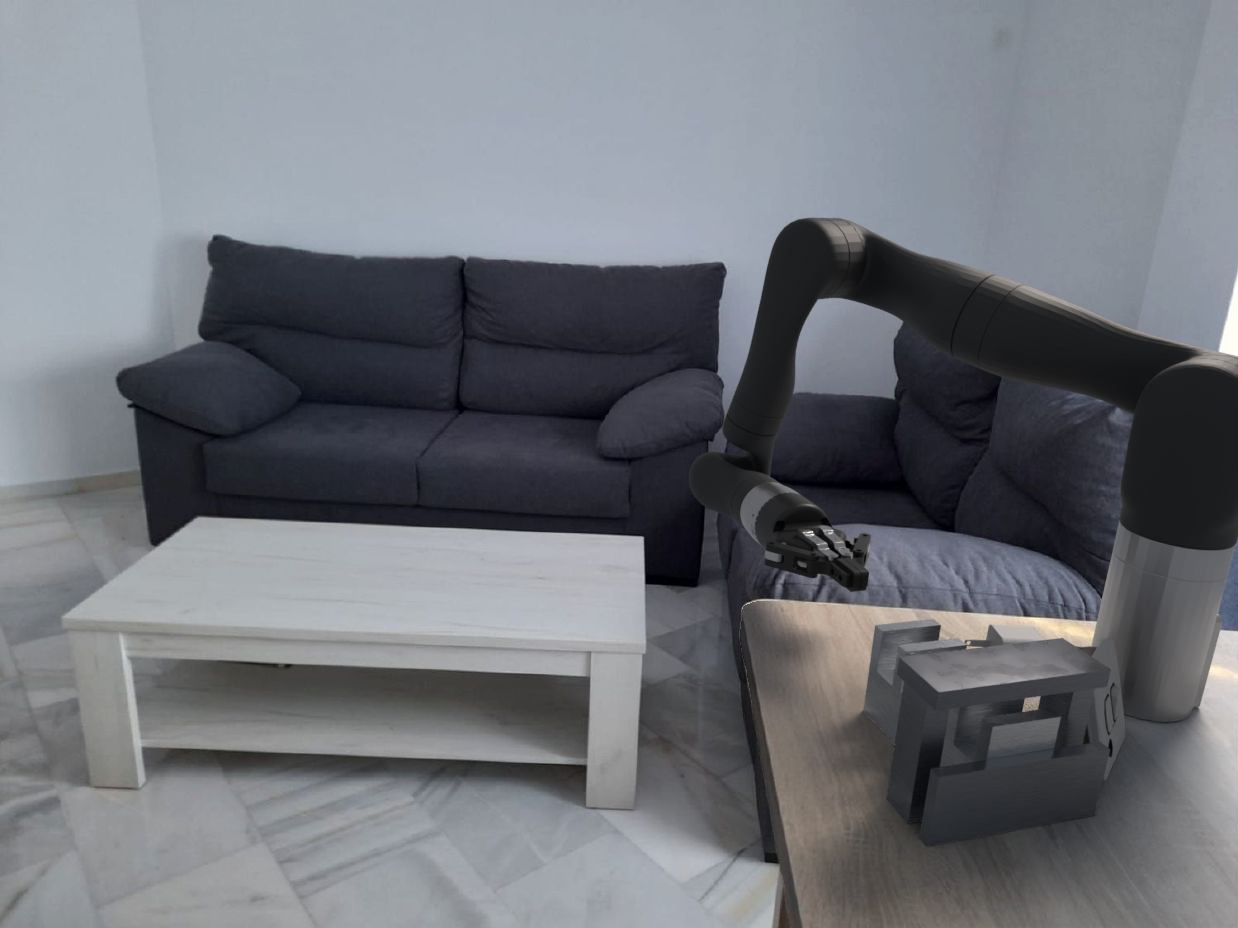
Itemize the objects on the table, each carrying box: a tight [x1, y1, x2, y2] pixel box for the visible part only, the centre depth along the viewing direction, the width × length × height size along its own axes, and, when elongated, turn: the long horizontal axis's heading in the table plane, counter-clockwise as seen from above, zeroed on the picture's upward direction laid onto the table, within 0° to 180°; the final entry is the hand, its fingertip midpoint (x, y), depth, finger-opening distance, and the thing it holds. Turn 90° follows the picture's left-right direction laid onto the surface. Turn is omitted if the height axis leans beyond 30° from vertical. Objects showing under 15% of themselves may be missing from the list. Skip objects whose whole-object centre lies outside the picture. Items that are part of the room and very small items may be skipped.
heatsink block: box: [863, 618, 1061, 767], centre depth 74 cm, size 6×16×9 cm, turn 16°
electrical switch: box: [1075, 638, 1126, 782], centre depth 76 cm, size 9×5×9 cm, turn 141°
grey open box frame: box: [886, 637, 1111, 847], centre depth 68 cm, size 15×6×12 cm, turn 105°
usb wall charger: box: [963, 624, 1046, 648], centre depth 90 cm, size 4×7×4 cm, turn 88°
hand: (860, 582), depth 86 cm, fingers closed
